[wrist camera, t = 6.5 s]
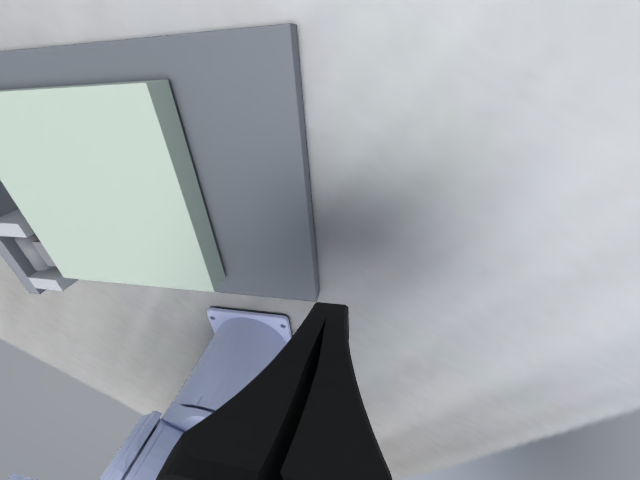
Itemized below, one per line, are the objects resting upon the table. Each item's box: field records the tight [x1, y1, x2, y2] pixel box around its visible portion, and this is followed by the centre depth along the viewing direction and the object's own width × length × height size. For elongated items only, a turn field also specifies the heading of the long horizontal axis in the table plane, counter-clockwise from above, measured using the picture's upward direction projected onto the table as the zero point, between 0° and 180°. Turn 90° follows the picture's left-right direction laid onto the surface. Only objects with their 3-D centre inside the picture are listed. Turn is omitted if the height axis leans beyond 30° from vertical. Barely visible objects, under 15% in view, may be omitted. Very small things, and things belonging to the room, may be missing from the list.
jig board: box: [0, 23, 320, 302], centre depth 22 cm, size 18×26×4 cm
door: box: [0, 79, 225, 292], centre depth 22 cm, size 14×17×2 cm
